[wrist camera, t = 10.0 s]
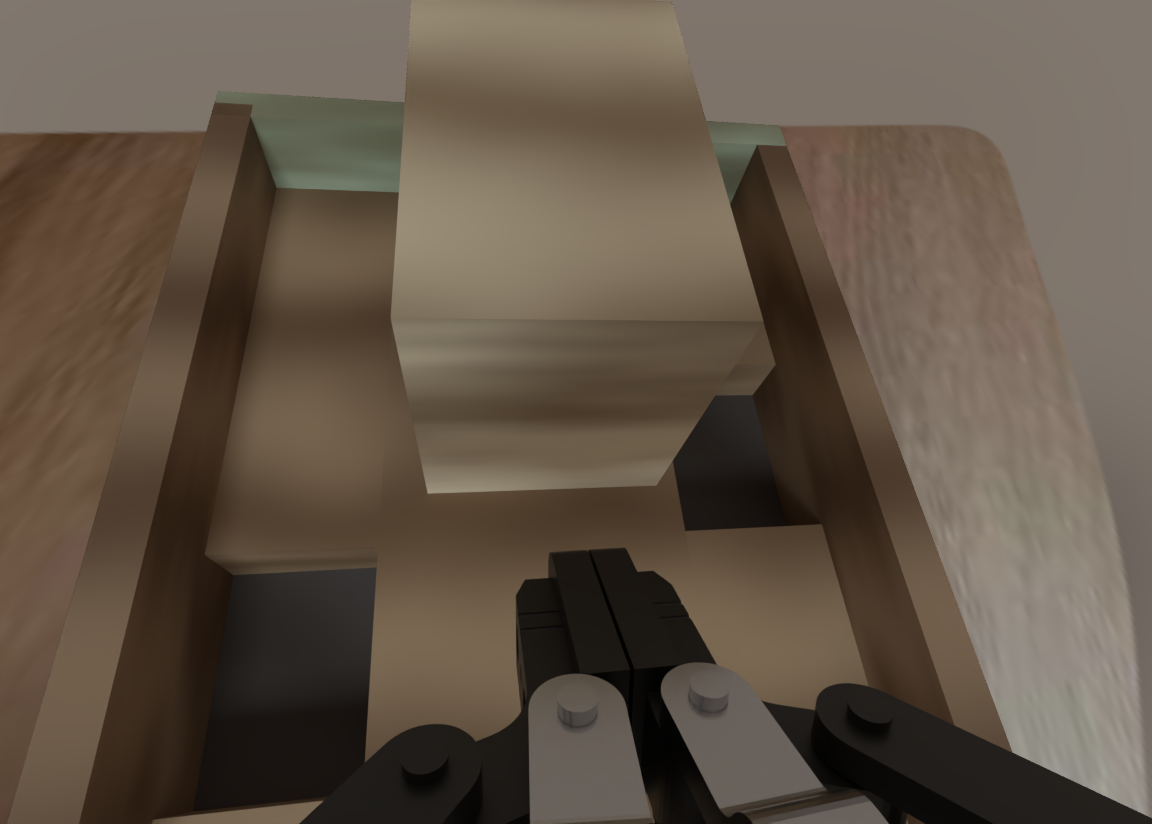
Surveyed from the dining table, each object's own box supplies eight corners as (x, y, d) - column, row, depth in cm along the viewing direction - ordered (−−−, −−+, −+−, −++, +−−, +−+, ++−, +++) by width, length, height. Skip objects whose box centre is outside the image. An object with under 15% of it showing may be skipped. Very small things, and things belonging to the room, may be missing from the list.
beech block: (656, 485, 19) (763, 321, 12) (427, 493, 18) (390, 318, 11) (614, 227, 25) (671, 1, 17) (434, 221, 23) (413, -23, 16)
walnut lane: (985, 1134, 15) (1222, 1315, 10) (39, 1352, 12) (-266, 1767, 7) (729, 228, 29) (778, 125, 24) (267, 213, 26) (218, 91, 21)
